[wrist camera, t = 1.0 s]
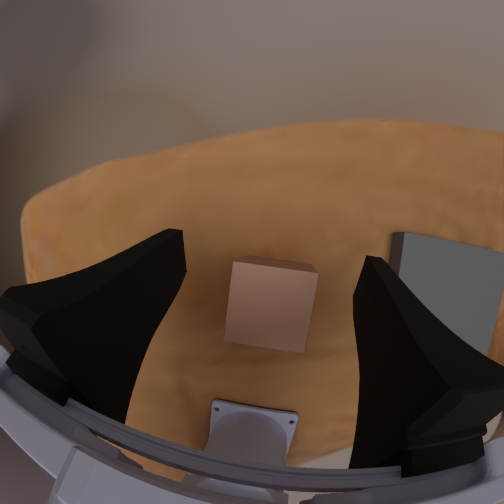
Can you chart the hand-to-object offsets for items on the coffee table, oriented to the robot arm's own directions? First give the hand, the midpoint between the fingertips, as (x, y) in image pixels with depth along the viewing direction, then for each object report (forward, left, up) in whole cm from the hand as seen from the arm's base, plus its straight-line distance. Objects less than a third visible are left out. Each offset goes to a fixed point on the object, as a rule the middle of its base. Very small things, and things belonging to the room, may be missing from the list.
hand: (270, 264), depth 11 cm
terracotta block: (-3, 0, -11) cm, 12 cm away
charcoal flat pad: (-3, -15, -12) cm, 19 cm away
